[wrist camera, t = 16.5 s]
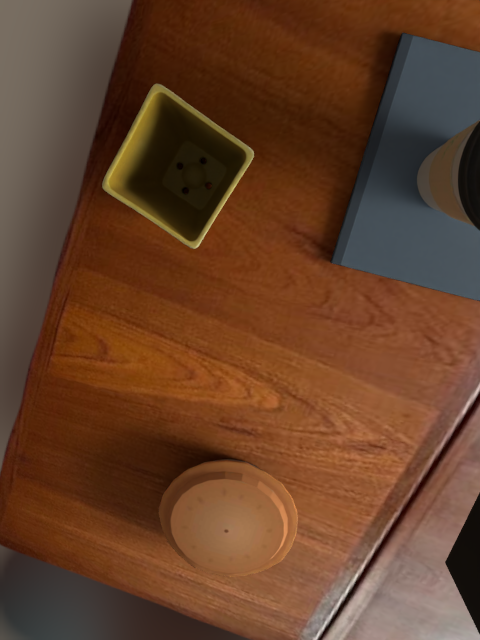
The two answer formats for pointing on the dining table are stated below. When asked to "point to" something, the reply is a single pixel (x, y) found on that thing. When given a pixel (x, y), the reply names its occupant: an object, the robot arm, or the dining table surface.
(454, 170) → the coffee cup
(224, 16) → the dining table surface
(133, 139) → the flower pot
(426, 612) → the dining table surface
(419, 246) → the cup mat
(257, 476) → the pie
